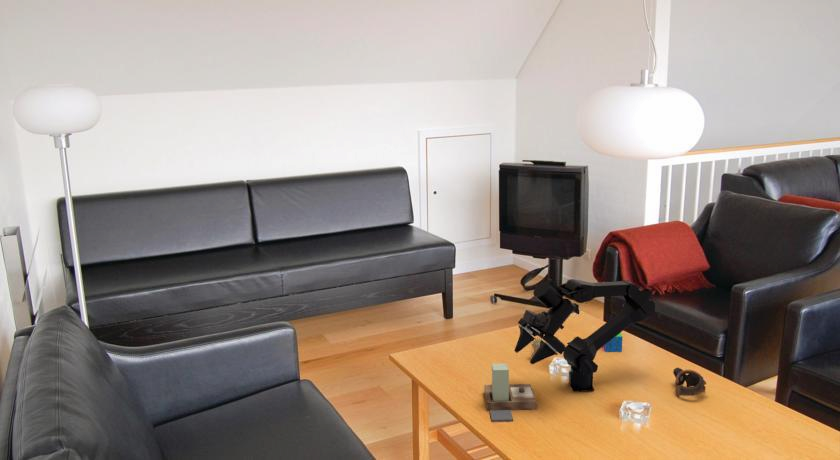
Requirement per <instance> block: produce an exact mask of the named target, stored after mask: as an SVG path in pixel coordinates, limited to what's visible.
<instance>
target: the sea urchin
mask: <svg viewBox="0 0 840 460" xmlns="http://www.w3.org/2000/svg"><path fill="white" fill-rule="evenodd" d="M536 337H537V338H536ZM536 337H534V338H535V339H534V340H533V341H532V342H531V345H530V346H531V347H530V349H524V348H523V349H522V350H528V352H529V353H528V354H529V355H530V358H532V357H533V356H534V354H535V353H536V352H537V350H538V349H539V347H540V340H542V341H543V339H542V338H540V337H539V336H536ZM529 350H530V351H529Z"/></svg>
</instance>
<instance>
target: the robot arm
mask: <svg viewBox="0 0 840 460" xmlns="http://www.w3.org/2000/svg"><path fill="white" fill-rule="evenodd" d="M533 296H534V297H535V298H536V299H537V300H538V301H539V302H540V303H541V304H543V306H545V308H548V310H547V311H545V310H544V311H542V312H541V313H540V312H535V311H532V310H528V309H525V311H524V313H523V316H522V317H521V318H520V319H519V320H518V321H517V324H518V328H519V335H518V336H519V337H518V339H517V342H516V344H515V347H514V352H515V353H516V354H517V353H520V352H521V351H522V350H523V349H524V348H526V347H528V346H529V345H530V344H532V341H533V340H534V341H535V338H536V337H538V338H540V339H542V340H540V347H539V349H538V350H537V352H536V353H535V354H534V356H533V357H531V358H530V359H531V360H530V361H529V364H530V365H535V364H537V363H538V362H541V361H543V360H545V359H547V358H550V357H553V356H557V355H558V354H560V355H562V356H563V359H564V360H565V361H566V362H567V365H568V366H570V370H569V371H568V385H569V387H570V388H571V390H572V392H594V391H595V387H594V373H597V372H598V369H599V365H598V364H597V363H596V362H595V361H594V360H595V359H596V356H597V353H598V351H599V350H600V349H601V348H603V346H604V345H605V344H607V343H608V342H609V341H610V340H612V339H613V338H614V337H616V336H617V335H618V334H619V333H622V332H624V331H625V330H626V329H627V328H628V327H630V326H631V325H632V324H636V323H641V322H644V321H645V320H648V319H649V318H651V317H652V316H653V315H654V314H655V312H656V304H655V302H654V301H653V300H652V299H649V298H648V296H647V295H645V294H644V293H643V292H642V290H640V289H639V287H638V286H637V285H636V284H635V283H633V282H631V281H629V280H624V279H623V280H619V281H602V282H599V281H598V282H591V281H585V280H581V279H573V278H572V279H571V278H570V279H568V280H567V281H566V282H565V283H561V284H558V285H557V284H556V282H555V281H554V280H553V279H551V278H547V279H546V280H545V281H542V282H540V283H538V284H537V285H536V286H535V287H534V289H533ZM564 297H565V298H564ZM608 297H609V298H610V297H622V298H623V300H624V301H625V302H623V305H622V307H621V310H620V312H618V313H617V314H615V315H614V316H613V317H612V318H610V319H608V321H606V322H605V323H604V324H602V326H600V327H599V328H597V329H596V330H595V331H594V332H592V333H591V334H590V335H589V336H587V337H585V338H581V337H580V336H575V337H574V338H573V339H572V340H571V341H569V342H567V343H566V344H567V345H566V344H564V343H563V342H562V341H561V340H560V339H559V338H558V337H557V336H556V335H555V334H556V333H557V332H558V330H559V329H560V330H564V328H565V326H564V325H563V324H564V323H565V322H566V321H567V319H568V318H569V317H570V315H571V314H572V313H574V314H576V315H580V308H579V307H580V305H579V304H584V303H587V302H591V301H592V300H594V299H596V298H608ZM572 301H573V302H572ZM575 302H576V303H575ZM534 341H533V342H534Z"/></svg>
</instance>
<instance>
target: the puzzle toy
mask: <svg viewBox="0 0 840 460" xmlns="http://www.w3.org/2000/svg"><path fill="white" fill-rule="evenodd" d="M621 333H622V332H621ZM621 333H619V334H618V335H617V336H616V337H614V338H613V339H612V340H610V341H609V342H608V343H607V344H605V345H604V346H603V347H602V349H603V348H604V349H603V351H604V352H605V353H622V352H623V335H622V334H621Z"/></svg>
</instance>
